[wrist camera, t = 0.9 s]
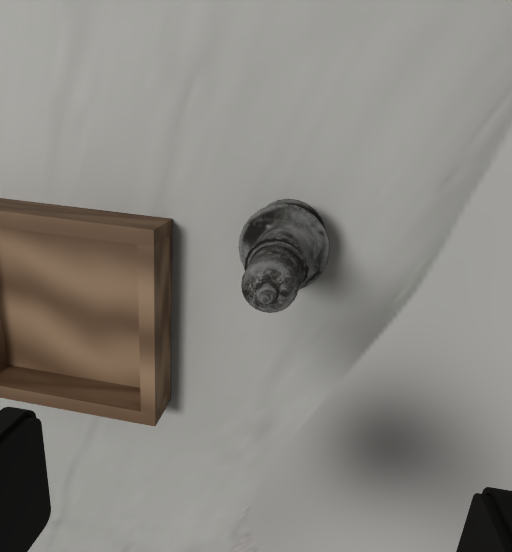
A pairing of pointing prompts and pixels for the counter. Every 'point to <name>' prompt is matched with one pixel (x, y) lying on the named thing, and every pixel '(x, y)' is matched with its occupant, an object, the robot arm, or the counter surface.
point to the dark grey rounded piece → (281, 253)
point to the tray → (85, 310)
